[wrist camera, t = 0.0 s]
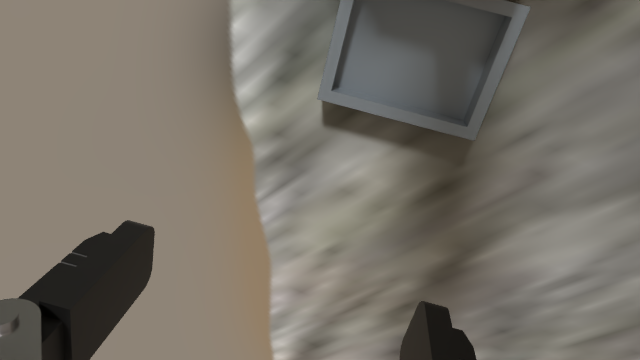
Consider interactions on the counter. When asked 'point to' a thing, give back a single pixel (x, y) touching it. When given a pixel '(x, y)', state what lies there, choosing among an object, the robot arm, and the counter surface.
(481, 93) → the slate tray
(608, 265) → the counter surface
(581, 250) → the counter surface
